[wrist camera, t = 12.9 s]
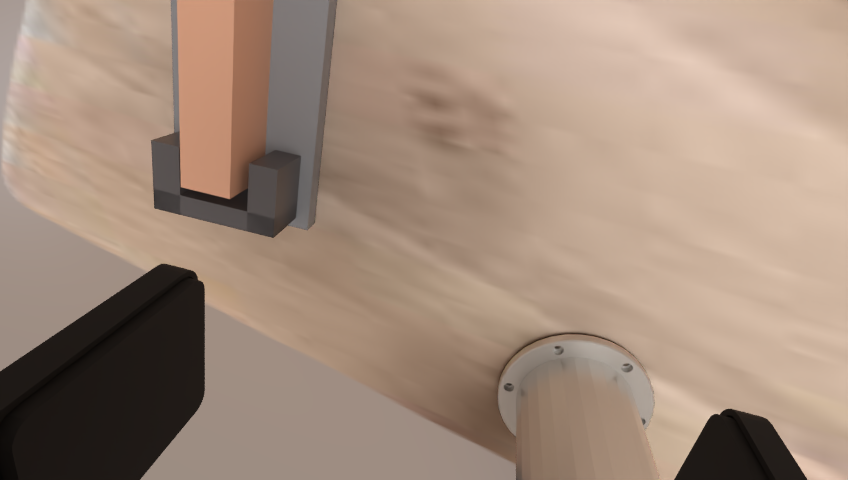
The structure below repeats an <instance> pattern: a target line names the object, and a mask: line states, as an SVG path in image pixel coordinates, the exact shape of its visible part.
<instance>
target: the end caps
mask: <svg viewBox="0 0 848 480" xmlns="http://www.w3.org/2000/svg"><path fill="white" fill-rule="evenodd" d="M151 145H152V166H153V188H154V208H155V209H159V210H163V211H167V212H171V213H175V214H179V215H183V216H187V217H191V218H196V219H200V220H204V221H208V222H212V223H216V224H220V225H224V226H228V227H232V228H236V229H240V230H244V231H248V232H252V233H256V234H260V235H264V236H268V237H272V238H274V237H275V236H276V235H277V234H278V233H279V232H280V231H282V230H283V229H284V228H285V227H286V226H287V225H288V224H290V223H291V222H292V221H293V220H294V219H295V218H296V212H297V200H298V188H299V176H300V164H301V156H299V155H295V154H291V153H286V152H282V151H278V150H274V151H272V152H270V153H268V154H267V155H265V156H263V157H261V158H259V159H257V160H255V161H253V162H251V163H249V179H248V188H247V189H246V190H244V191H242V192H241V193H239V194H237V195H236V196H234V197H232V198H231V199H227V198H223V197H219V196H215V195H211V194H207V193H203V192H199V191H194V190H190V189H186V188H182V187H181V171H180V131H179V132H176V133H173V134H170V135H167V136H163V137H160V138H157V139H154V140H151Z"/></svg>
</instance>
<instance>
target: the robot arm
mask: <svg viewBox="0 0 848 480" xmlns="http://www.w3.org/2000/svg"><path fill="white" fill-rule="evenodd" d="M204 314H205V289H204V284H203V282H201V281H199V280H198V278H197V275H196V273H195V272H194V271H191V270H187V269H184V268H180V267H176V266H172V265H168V264H161V265H158V266H157V267H155V268H154V269H152V270H151V271H149V272H148V273H146V274H145V275H143V276H142V277H140V278H139V279H137V280H136V281H134V282H133V283H131V284H130V285H128V286H127V287H125V288H124V289H122V290H121V291H120V292H118V293H116V294H115V295H113V296H112V297H110V298H109V299H107V300H106V301H104V302H103V303H101V304H100V305H98V306H97V307H96V308H94V309H92V310H91V311H90V312H88V313H87V314H85V315H84V316H82V317H81V318H79V319H78V320H76V321H75V322H73V323H72V324H70V325H69V326H67V327H66V328H64V329H63V330H61V331H60V332H58V333H57V334H55V335H54V336H52V337H51V338H49V339H48V340H46V341H45V342H43V343H42V344H40V345H39V346H37V347H36V348H34V349H33V350H32V351H30V352H29V353H27V354H26V355H24V356H23V357H21V358H19V359H18V360H17V361H15V362H14V363H12V364H11V365H9V366H8V367H6V368H5V369H3V370H2V371H0V480H140V479H141V478H142V477H143V475H144V474H145V473H146V472H147V470H148V469H149V468H150V467H151V466H152V464H153V463H154V462H155V461H156V459H157V458H158V457H159V456H160V455H161V453H162V452H163V451H164V450H165V449H166V447H167V446H168V445H169V444H170V443H171V441H172V440H173V439H174V438H175V437H176V435H177V434H178V433H179V432H180V431H181V429H182V428H183V427H184V426H185V424H186V423H187V422H188V421H189V420H190V418H191V417H192V416H193V415H194V414H195V412H196V411H197V410H198V408H199V406H200V405H201V402H202V400H203V397H204V391H205V385H204V384H205V381H204V380H205V377H204V376H205V366H204V365H205V362H204V361H205V360H204V359H205V358H204V353H205V352H204V350H205V348H204V347H205V344H204V343H205V335H204V333H205V322H204V321H205V320H204V319H205V315H204ZM654 404H655V402H654V392H653V389H652V386H651V383H650V380H649V378H648V376H647V374H646V372H645V370H644V368H643V367H642V365H641V364H640V363H639V362H638V360H637V359H636V358H635V357H634V356H632V355H631V354H630V353H629V352H628V351H626V350H625V349H624V348H622V347H620V346H618V345H616V344H614V343H612V342H610V341H607V340H604V339H601V338H598V337H594V336H588V335H582V334H565V335H558V336H552V337H548V338H545V339H542V340H539V341H536V342H534V343H532V344H531V345H529V346H527V347H525V348H523V349H522V350H521V351H520V352H518V353H517V354H516V355H515V356H514V357H513V358H512V359H511V360H510V361H509V363H508V364H507V365H506V367H505V369H504V371H503V372H502V374H501V377H500V381H499V385H498V407H499V411H500V414H501V417H502V420H503V421H504V423H505V425H506V426H507V428H508V429H509V431H510V432H511V433H512V434H513V435H514V436H515V437H516V480H661V479H660V476H659V473H658V470H657V467H656V464H655V461H654V458H653V454H652V451H651V448H650V445H649V442H648V439H647V436H646V433H645V429H646V428H647V427H648V425H649V423H650V420H651V418H652V416H653V410H654ZM674 480H807V478H806V477H805V475H804V473H803V472H802V470H801V469H800V467H799V466H798V464H797V463H796V461H795V460H794V458H793V456H792V455H791V453H790V452H789V450H788V449H787V447H786V446H785V444H784V443H783V441H782V439H781V438H780V436H779V435H778V433H777V432H776V430H775V429H774V427H773V425H772V424H771V423H770V422H769V421H768V420H767V419H766V418H763V417H760V416H757V415H753V414H749V413H745V412H741V411H737V410H733V409H726V410H724V411H723V412H722V413H721V414H720V415H718V414H714V415H712V416H711V417H710V418H709V420H708V421H707V423H706V425H705V427H704V428H703V430H702V432H701V434H700V435H699V437H698V439H697V441H696V442H695V444H694V446H693V448H692V449H691V451H690V453H689V455H688V456H687V458H686V460H685V462H684V463H683V465H682V467H681V469H680V471H679V472H678V474H677V476H676V478H675V479H674Z"/></svg>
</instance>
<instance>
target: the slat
mask: <svg viewBox="0 0 848 480" xmlns="http://www.w3.org/2000/svg"><path fill="white" fill-rule="evenodd" d="M273 1H274V0H177V25H178V74H179V123H180V171H181V187H182V188H186V189H190V190H194V191H199V192H203V193H207V194H211V195H215V196H219V197H223V198H227V199H231V198H232V197H234V196H236V195H237V194H239V193H241V192H242V191H244V190H246V189H247V188H248V179H249V163H251V162H253V161H255V160H257V159H259V158H261V157H263V156H265V150H266V131H267V113H268V94H269V75H270V57H271V38H272V19H273Z"/></svg>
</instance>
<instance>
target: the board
mask: <svg viewBox="0 0 848 480" xmlns="http://www.w3.org/2000/svg"><path fill="white" fill-rule="evenodd" d="M336 5H337V0H274V1H273V19H272V38H271V57H270V75H269V94H268V113H267V131H266V150H265V155H267V154H268V153H270V152H272V151H274V150H278V151H282V152H286V153H291V154H295V155H299V156H301V164H300V176H299V188H298V200H297V212H296V218H295V219H294V220H293V221H292V222H291V223H290V224H288V226H292V227H296V228H301V229H305V230H308V229H309V228H310V227H311V226H312V225H313V224H314V222H315V212H316V202H317V193H318V183H319V173H320V163H321V153H322V143H323V133H324V123H325V113H326V104H327V94H328V84H329V74H330V64H331V54H332V44H333V34H334V24H335V15H336ZM171 21H172V59H173V97H174V133H176V132H179V131H180V123H179V74H178V25H177V0H171Z"/></svg>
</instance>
